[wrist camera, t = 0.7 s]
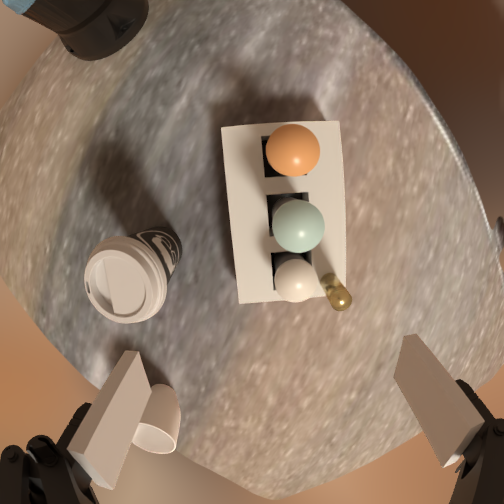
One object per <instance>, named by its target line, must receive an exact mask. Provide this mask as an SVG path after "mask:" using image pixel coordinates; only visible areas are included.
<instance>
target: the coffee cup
mask: <svg viewBox="0 0 504 504" xmlns="http://www.w3.org/2000/svg"><path fill="white" fill-rule="evenodd" d="M181 255H182V245H181V242H180V239H179V238H178V236H177V235H176V234H175V233H174V232H173V231H172V230H170V229H168V228H165V227H154V228H151V229H148V230H145V231H142V232H139V233H136V234H133V235H130V236H127V237H125V236H114V237H110V238H107V239H105V240H103V241H102V242H100V243H99V244H98V245H97V246H96V247H95V248H94V250H93V251H92V253H91V254H90V256H89V259H88V261H87V265H86V269H85V275H84V283H85V288H86V292H87V294H88V297H89V299H90V301H91V302H92V304H93V305H94V307H95V308H96V309H97V310H98V311H99V312H100V313H101V314H102V315H104V316H105V317H107V318H108V319H110V320H113V321H115V322H119V323H135V322H140V321H144V320H146V319H148V318H150V317H152V316H153V315H155V314H156V313H157V312H158V311H159V310H160V308H161V307H162V305H163V303H164V301H165V297H166V292H167V284H168V282H169V280H170V278H171V276H172V274H173V272H174V270H175V268H176V266H177V265H178V263H179V261H180V258H181Z"/></svg>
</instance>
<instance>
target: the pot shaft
mask: <svg viewBox="0 0 504 504" xmlns="http://www.w3.org/2000/svg"><path fill="white" fill-rule="evenodd" d="M320 285H321V287H322V289H323V290H324V292H325V294H326V296H327V298H328V300H329V301H330V303H331V305H332V307H333V308H334V309H335V310H337V311H343V310H346V309H347V308H348V307H349V306H350V305H351V302H352V297H351V295H350V294H349V292H348V291H347V289H346V288H345V287H344V285H343V284H342V283H341V281H340V280H339V279H338V277H337V276H336V275H335V274H334V273H327V274H325V275H323V276H322V278H321V280H320Z"/></svg>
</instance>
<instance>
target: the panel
mask: <svg viewBox="0 0 504 504" xmlns="http://www.w3.org/2000/svg"><path fill="white" fill-rule="evenodd" d="M287 124H298V125H302V126H304V127H306V128H308V129H309V130H310V131H311V132H312V133H313V134H314V135H315V136H316V138H317V140H318V142H319V145H320V157H319V160H318V162H317V164H316V166H315V167H314V168H313V169H312V170H311V171H310V172H308V173H307V174H304V175H302V176H296V177H293V176H274V177H265V175H264V164H263V153H262V142H261V141H262V140H268V139H269V137H270V135H271V134H272V133H273V132H274V131H275V130H276V129H277V128H279V127H281V126H283V125H287ZM221 133H222V144H223V154H224V165H225V175H226V186H227V196H228V205H229V215H230V225H231V234H232V243H233V252H234V261H235V270H236V279H237V288H238V296H239V304H243V303H256V302H269V301H281V300H285V299H283V298H282V297H281V296H280V295H279V294H278V292H277V290H276V287H275V281H274V278H275V276H272V262H271V253H272V252H284V251H288V250H286V249H284V248H283V247H281V246H280V245H279V243H278V242H277V240H276V239H275V236H274V233H273V229H272V228H269V223H268V211H267V199H266V195H271V194H285V193H300V192H302V200H304V201H307V202H309V203H311V204H312V205H314V206H315V207H317V209H318V210H319V211H320V212H321V214H322V216H323V218H324V222H325V230H324V234H323V237H322V239H321V241H320V242H319V243H318V244H317V245H316V246H315V247H314V248H313V249H311V250H309V251H306V252H305V260H306V262H308V263H309V264H310V265H311V266H312V267H313V269H314V270H315V272H316V274H317V278H318V284H317V288H316V290H315V292H314V293H313V294H312V296H310V297H309V298H312V297H322V296H326V294H325V292H324V290H323V289H322V287H321V285H320V280H321V278H322V276H323V275H325V274H327V273H334V274H335V275H336V276H337V277H338V279H339V280H340V281H341V283H342V284H343V285H344V287H346V214H345V190H344V172H343V158H342V146H341V136H340V126H339V121H300V122H278V123H263V124H250V125H240V126H230V127H221Z"/></svg>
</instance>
